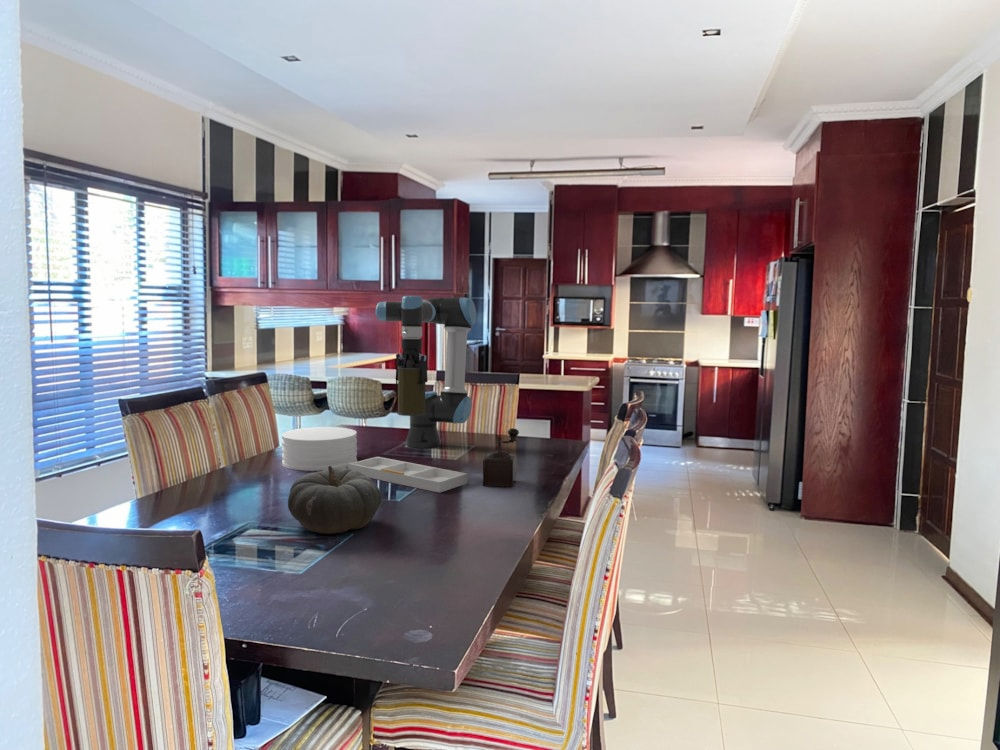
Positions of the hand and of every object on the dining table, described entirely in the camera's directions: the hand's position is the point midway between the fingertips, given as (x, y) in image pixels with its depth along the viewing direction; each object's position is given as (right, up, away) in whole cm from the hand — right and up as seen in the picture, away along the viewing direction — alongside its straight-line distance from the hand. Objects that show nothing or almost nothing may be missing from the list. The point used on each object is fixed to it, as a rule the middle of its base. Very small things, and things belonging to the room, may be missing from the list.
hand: (411, 400), depth 257 cm
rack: (0, -27, -10) cm, 29 cm away
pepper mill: (+33, -28, -13) cm, 45 cm away
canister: (0, -5, 0) cm, 5 cm away
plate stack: (-37, -25, +13) cm, 46 cm away
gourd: (-12, -33, -64) cm, 73 cm away
